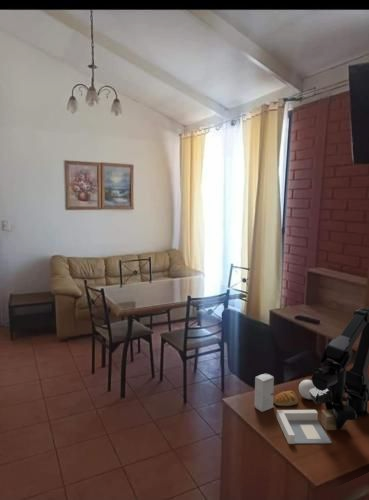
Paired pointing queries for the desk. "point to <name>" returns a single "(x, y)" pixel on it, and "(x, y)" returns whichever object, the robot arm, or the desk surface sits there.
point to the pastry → (285, 398)
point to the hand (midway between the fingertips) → (333, 423)
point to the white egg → (306, 388)
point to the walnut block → (330, 421)
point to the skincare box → (264, 392)
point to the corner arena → (302, 427)
